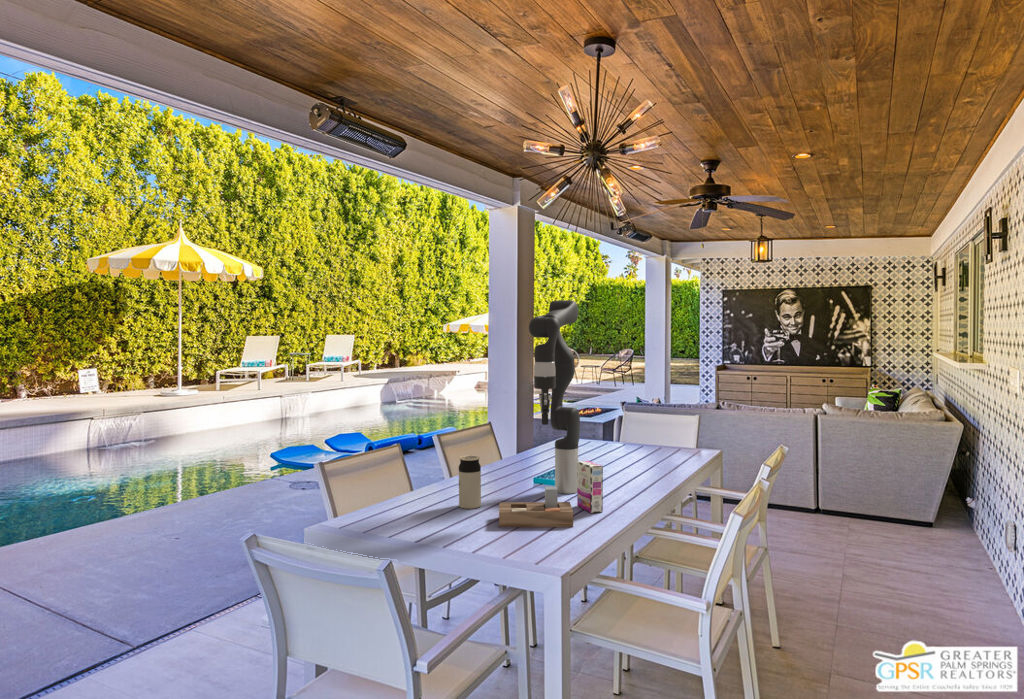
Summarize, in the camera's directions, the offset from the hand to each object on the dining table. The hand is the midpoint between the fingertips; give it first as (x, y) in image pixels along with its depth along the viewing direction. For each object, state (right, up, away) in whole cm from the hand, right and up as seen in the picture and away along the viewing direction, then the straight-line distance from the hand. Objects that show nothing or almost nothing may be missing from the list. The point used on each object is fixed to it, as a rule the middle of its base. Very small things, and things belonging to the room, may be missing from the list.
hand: (545, 424), depth 229 cm
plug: (+2, -30, -9) cm, 32 cm away
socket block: (-4, -31, -10) cm, 33 cm away
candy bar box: (+16, -31, +5) cm, 35 cm away
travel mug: (-27, -31, +10) cm, 42 cm away
